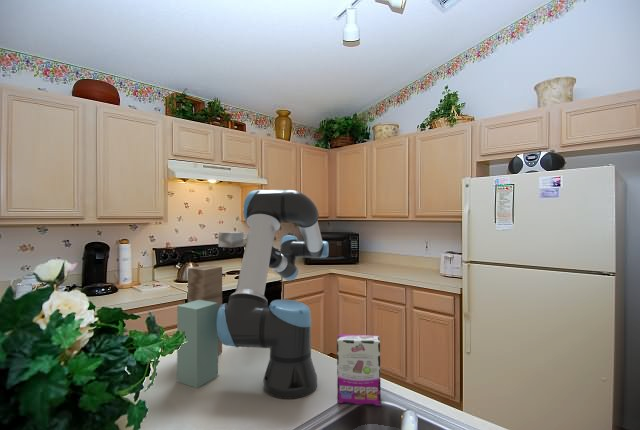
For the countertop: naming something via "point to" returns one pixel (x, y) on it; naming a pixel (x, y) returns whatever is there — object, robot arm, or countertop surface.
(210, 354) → the sage block
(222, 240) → the meat mallet
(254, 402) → the countertop surface
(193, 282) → the walnut pillar
